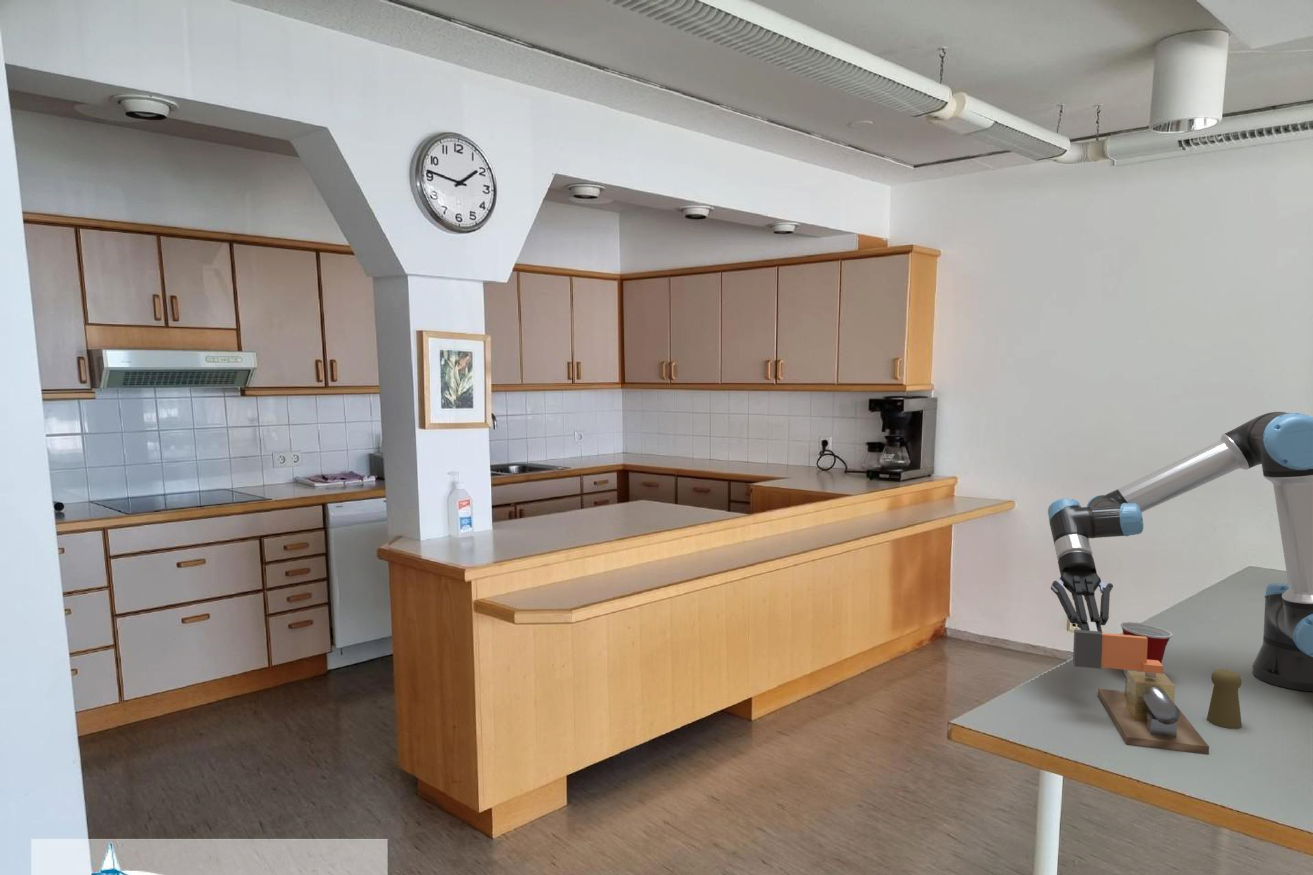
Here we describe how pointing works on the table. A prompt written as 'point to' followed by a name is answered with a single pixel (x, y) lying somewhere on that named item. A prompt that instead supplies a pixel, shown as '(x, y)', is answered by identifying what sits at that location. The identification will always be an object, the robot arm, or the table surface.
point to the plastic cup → (1149, 638)
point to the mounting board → (1137, 729)
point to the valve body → (1152, 702)
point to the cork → (1225, 700)
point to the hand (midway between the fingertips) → (1096, 652)
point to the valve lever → (1113, 652)
